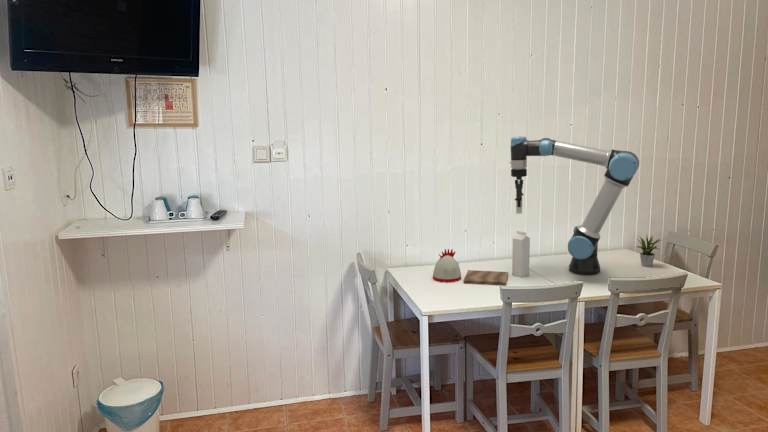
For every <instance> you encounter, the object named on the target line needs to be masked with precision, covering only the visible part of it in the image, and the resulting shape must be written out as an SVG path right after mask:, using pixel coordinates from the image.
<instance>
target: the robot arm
mask: <svg viewBox="0 0 768 432" xmlns="http://www.w3.org/2000/svg"><path fill="white" fill-rule="evenodd" d="M548 156H554V157H558V158H563V159H568V160H573V161H577V162H578V161H579V162H583V163H587V164H591V165H597V166H601V167H604V168H605V169H606V171H605V172H604V175H603V177H604V179H605V180H604V181H603V184H602V186H601V187H600V190H599V191H598V193H597V196H596V197H595V199H594V201H593V203H592V205H591V207H590V209H589V211H588V213H587V215H586V216H585V218H584V221H582V224H580V225H577V226H576V225H575V226H574V227H573V234H572V236H571V237H570V239H569V240H568V242H567V251H568V253H569V255H570V256H571V257H572V258H571V259H570V262H569V265H568V271H569V272H570V273H571V274H575V275H581V276H593V275H595V276H596V275H599V274H600V273H601V264H600V262H599V258H598V251H599V250H598V249H599V248H598V246H599V241H600V239H601V235H600V233H601V230H602V228H603V227H604V225H605V222H606V221H607V219H608V217H609V215H610V213H611V211H612V210H613V208H614V205H615V204H616V203H617V201H618V198H619V197H620V195H621V193H622V191H623V189H624V188H627V187H629V185H630V183H631V181H633V178H634V177H635V175H636V173H637V171H638V169H639V166H640V160H639V157H638V156H637V155H636V154H635V153H633V152H632V151H629V150H628V151H627V150H617V149H609V150H606V149H601V148H596V147H591V146H585V145H580V144H574V143H570V142H567V141H566V142H565V141H560V140H555V139H551V138H549V137H544V138H541V139H535V140H528V139H527V137H526V136H523V135H522V136H513V137H511V139H510V161H509V164H510V168H511V169H510V176H511V177H512V178H516V179H515V180H514V185H515V192H516V193H515V196H516V197H515V198H514V201H516V202H515V208H516V209H515V211H516V212H515V214H517V215H518V214H523V196H524V192H523V187H524V186H523V185H524V180H523V178H524V177H527V176H528V170H527V167H528V164H527V163H528V157H548Z"/></svg>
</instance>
